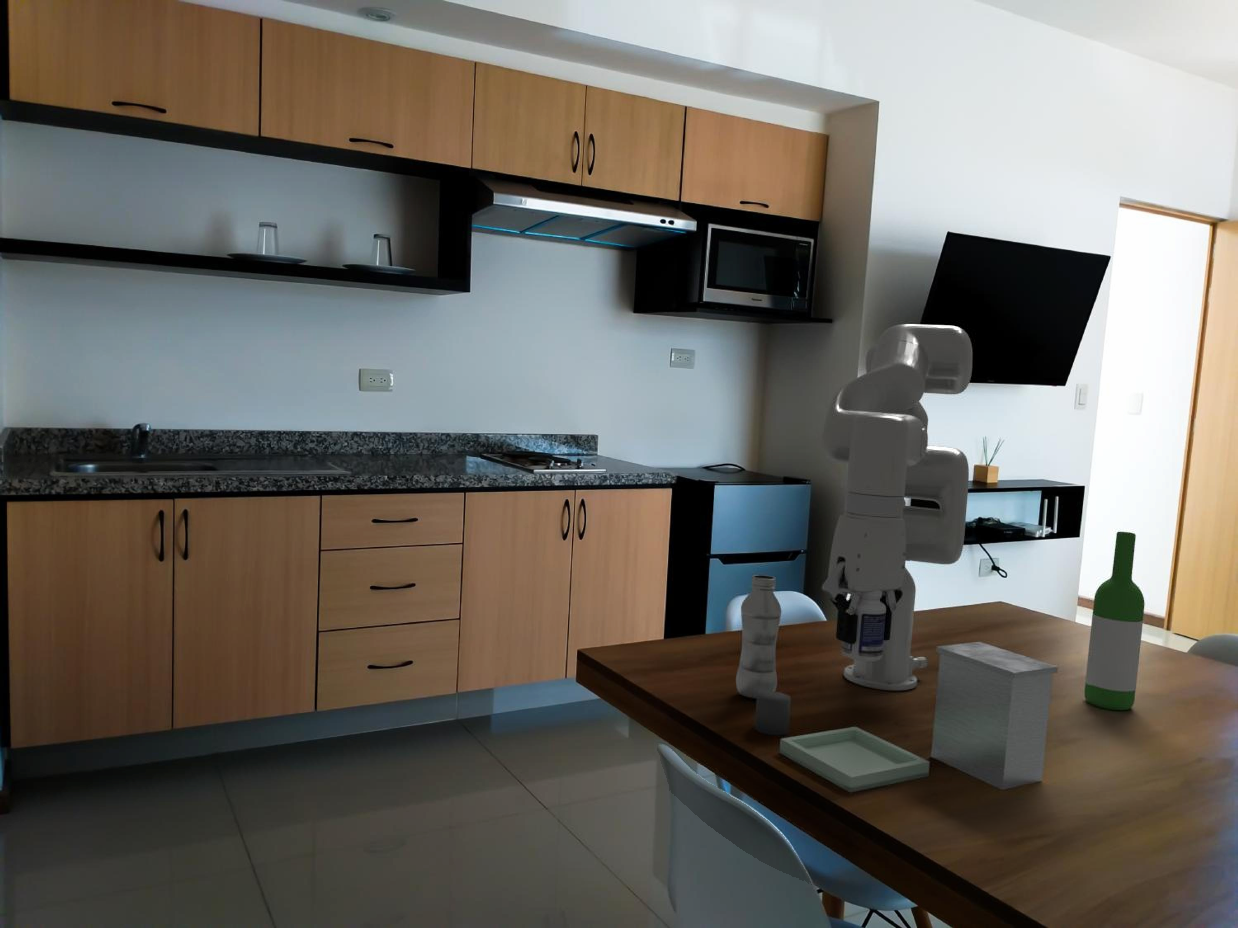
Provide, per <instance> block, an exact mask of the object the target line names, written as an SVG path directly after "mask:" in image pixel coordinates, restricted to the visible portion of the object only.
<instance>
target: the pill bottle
mask: <svg viewBox="0 0 1238 928" xmlns="http://www.w3.org/2000/svg"><path fill="white" fill-rule="evenodd" d="M881 597H882V591H880V590H877V591H872V592H867V593H861V595H860V598H859V601H858V603H857V606H856V609H855V612H854V614H857V615H858V623H857V635H856V642H855V644H849V643H846V642H843V641H841V654H842V655H843V656H844V657H846V658H847V659H852V660H854V659H855V660H861V661H877V660H880V659H881V658H882V653H883V640H884V628H885V616H886V607H885V605H884V604H883V603H882V602H880V598H881ZM847 601H849V599H847Z"/></svg>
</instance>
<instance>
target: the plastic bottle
mask: <svg viewBox="0 0 1238 928" xmlns="http://www.w3.org/2000/svg"><path fill="white" fill-rule="evenodd" d="M750 588H751V589H752V590H751V591H750V592H749V593H748V595H746V597H745V598H744V599H743V601H742V602H741V606H740V616H741V626H742V627H741V628H742V629H741V630H742V632H741V633H742V634H741V636H742V638H741V639H742V640H741V652H740V659H739V666H738V669H737V673H736V677H735V683H736V689H737V691H738V693H739V694H740V695H741V696H743V697H746V698H749V699H750V698H751V699H755V700H757V694H758V693H760V692H764V691H773V692H777V690H776V689H777V687H778V678H777V677H778V676H777V670H776V649H777V648H776V647H777V644H776V643H777V638H778V632H779V628H780V621H781V617H782V607H781V603H780V601H779V599H778V598H777V596H776V595H775V592H774V591H775V590H776V577H775V576H773V575H772V576H771V575H765V574H754V575H752V578H751V584H750Z"/></svg>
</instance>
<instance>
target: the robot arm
mask: <svg viewBox="0 0 1238 928" xmlns="http://www.w3.org/2000/svg"><path fill="white" fill-rule="evenodd" d="M865 372H866V373H863V374H861V375H860V376H858V377H857V378H854V379H853V380H851V381H849V382H847V383H845V384H844V385H842V386H841V387H840V388H839V389H838V390H836V392H835V393H834V395H833V397H832V398H831V399H830V400H831V401H830V403H829V406H828V409H827V413H826V415H825V420H824V423H823V427H822V432H821V433H822V435H821V446H822V449H823V452H824V454H825V456H826V457H827V458H828V459H829V460H832V461H833V462H837V463H841V464H847V465H848V467H847V477H846V478H847V480H846V491H845V492H846V493H845V502H844V504H845V505H844V514H840V515H839V518H838V520H837V524H836V527H835V530H834V534H833V535H834V536H833V539H832V545H831V549H830V557H829V563H828V571H827V572H828V574H827V578H826V580H825V581H824V582H823V583H822V585H821V589H822V591H823V592H824V593H825V594H826V596H827V597H829V600H830V602H831V603H832V604H833V607H834V610H836V611H837V619H836V629H835V630H836V631H835V632H836V633H835V638H836V639H837V640H838V641H841V642H842V641H843V642H846V643H849V644H855V642H856V635H857V623H858V615H857V614H854V612H855V609H856V606H857V603H858V601H859V598H860V595H861V593H867V592H872V591H877V590H880V591H882V597H881V598H880V602H882V603H883V604H884V605H885V607H886V616H885V628H884V640H883V653H882V658H881V659H880V660H877V661H861V660H855V659H853V664H850V665H847V666H846V667H844V670H843V676H844V678H845V679H846V680H847V681H850V682H851V683H853V684H855V685H859V686H862V687H866V688H871V689H874V690H875V689H876V690H882V691H907V690H910V689H915V687H916V686H917V684H918V679H917V677H916V675H914V674H913V671H915V670H916V669H922V668H926V667H927V666H928V660H927V658H926V657H924V656H918V657H914V656H912V655H911V647H912V639H913V638H912V636H913V627H914V614H915V613H914V612H915V603H916V602H915V601H916V591H917V588H916V582H915V580H914V578H913V576H912V574H911V573H910V572H909V570H908V568H907V567H906V562H918V563H927V564H937V565H952V564H955V563H957V561H959V559H960V557H961V556H962V553H963V549H964V541H965V532H966V531H965V530H966V518H967V506H968V495H969V493H968V492H969V485H970V484H969V481H970V480H969V478H970V474H969V473H970V469H969V462H968V461H969V460H968V458H967V456H966V454H965V453H964V452H963V451H961V450H960V449H958V448H954V447H951V446H940V445H937V446H935V445H929V443H928V441H929V435H928V428H929V417H928V413H927V411H926V410H925V408H924V407H923V405H922V404H921V402H920V401H921V399H922V398H923V396H924V394H937V395H959V394H962V393H963V392H965V390H966V389H967V388H968V386H969V384H970V381H971V377H972V372H973V346H972V342H971V338H970V337H969V334H968V333H967V332H966V331H965V329H963V328H961V327H959V326H955V325H945V324H918V323H917V324H916V323H915V324H914V323H912V324H911V323H905V324H904V323H902V324H895V325H893V326H891V327H888V328H887V329H885V330H884V331H883V332H882V333H881V334H880V336H879V338H878V339H877V342H876V344H874V345H872V346H871V347H870V348H869V349H868V351H867V353H866V356H865ZM905 499H913V500H922V501H923V500H924V501H933V502H936V503H937V504H938V506H939V508H929V507H920V506H912V505H906V504H907V502H906V500H905ZM848 595H849V598H848ZM847 598H848V599H847ZM847 600H849V601H847Z"/></svg>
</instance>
